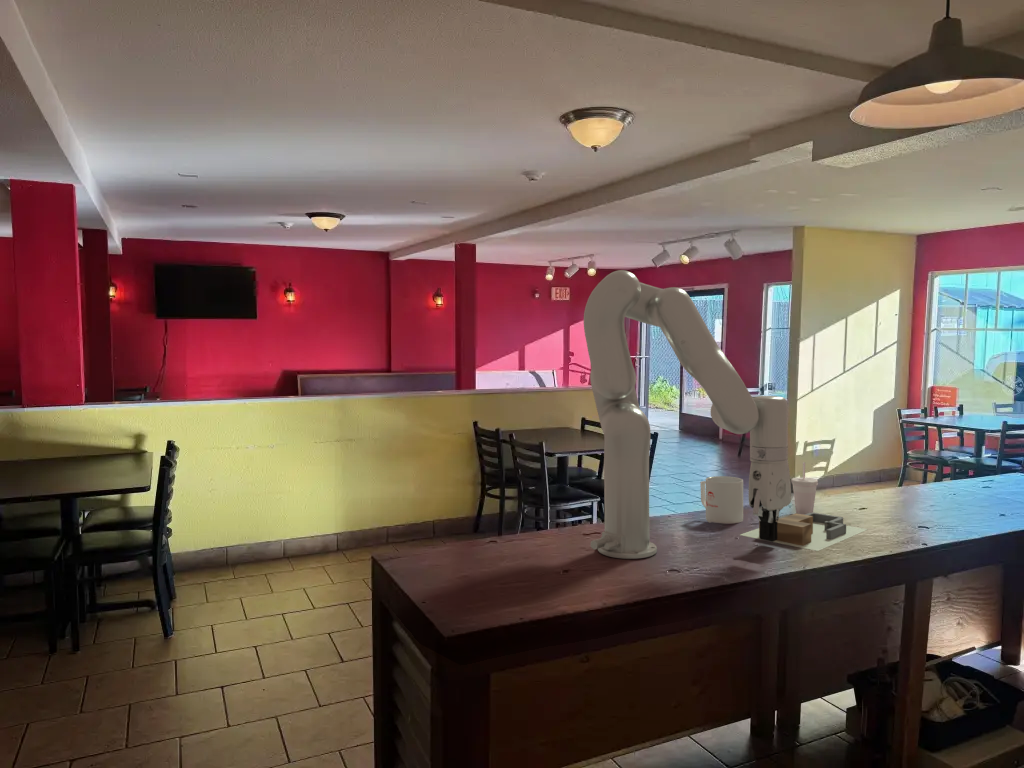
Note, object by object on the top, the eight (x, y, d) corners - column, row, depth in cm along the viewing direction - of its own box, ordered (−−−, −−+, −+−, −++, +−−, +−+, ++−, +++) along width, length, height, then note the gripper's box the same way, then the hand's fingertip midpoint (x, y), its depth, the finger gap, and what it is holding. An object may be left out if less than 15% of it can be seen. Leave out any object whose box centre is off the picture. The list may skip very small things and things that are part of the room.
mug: (751, 525, 174) (751, 480, 173) (725, 530, 169) (725, 484, 169) (714, 515, 184) (714, 473, 183) (689, 520, 180) (689, 476, 179)
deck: (817, 556, 147) (817, 541, 147) (739, 540, 160) (739, 526, 160) (867, 534, 163) (867, 520, 163) (793, 521, 177) (793, 508, 177)
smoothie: (813, 514, 184) (813, 460, 183) (821, 520, 177) (822, 464, 177) (787, 514, 184) (788, 460, 184) (795, 520, 178) (795, 464, 177)
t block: (802, 545, 151) (802, 527, 151) (759, 536, 158) (759, 519, 158) (826, 536, 158) (826, 518, 158) (783, 528, 166) (783, 511, 165)
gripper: (767, 460, 142) (766, 550, 143) (802, 452, 152) (802, 536, 153) (733, 456, 148) (733, 543, 149) (770, 449, 158) (770, 530, 159)
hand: (768, 539), depth 151 cm, fingers closed
